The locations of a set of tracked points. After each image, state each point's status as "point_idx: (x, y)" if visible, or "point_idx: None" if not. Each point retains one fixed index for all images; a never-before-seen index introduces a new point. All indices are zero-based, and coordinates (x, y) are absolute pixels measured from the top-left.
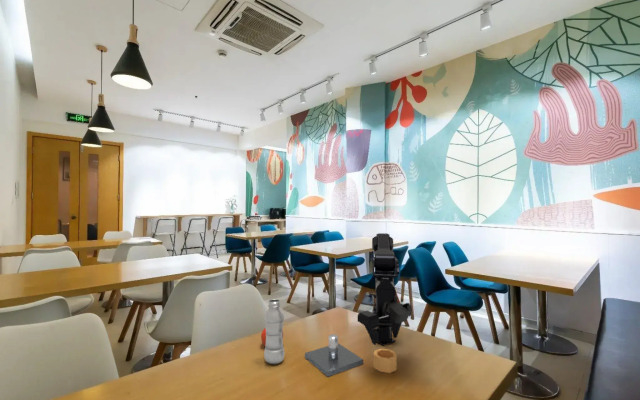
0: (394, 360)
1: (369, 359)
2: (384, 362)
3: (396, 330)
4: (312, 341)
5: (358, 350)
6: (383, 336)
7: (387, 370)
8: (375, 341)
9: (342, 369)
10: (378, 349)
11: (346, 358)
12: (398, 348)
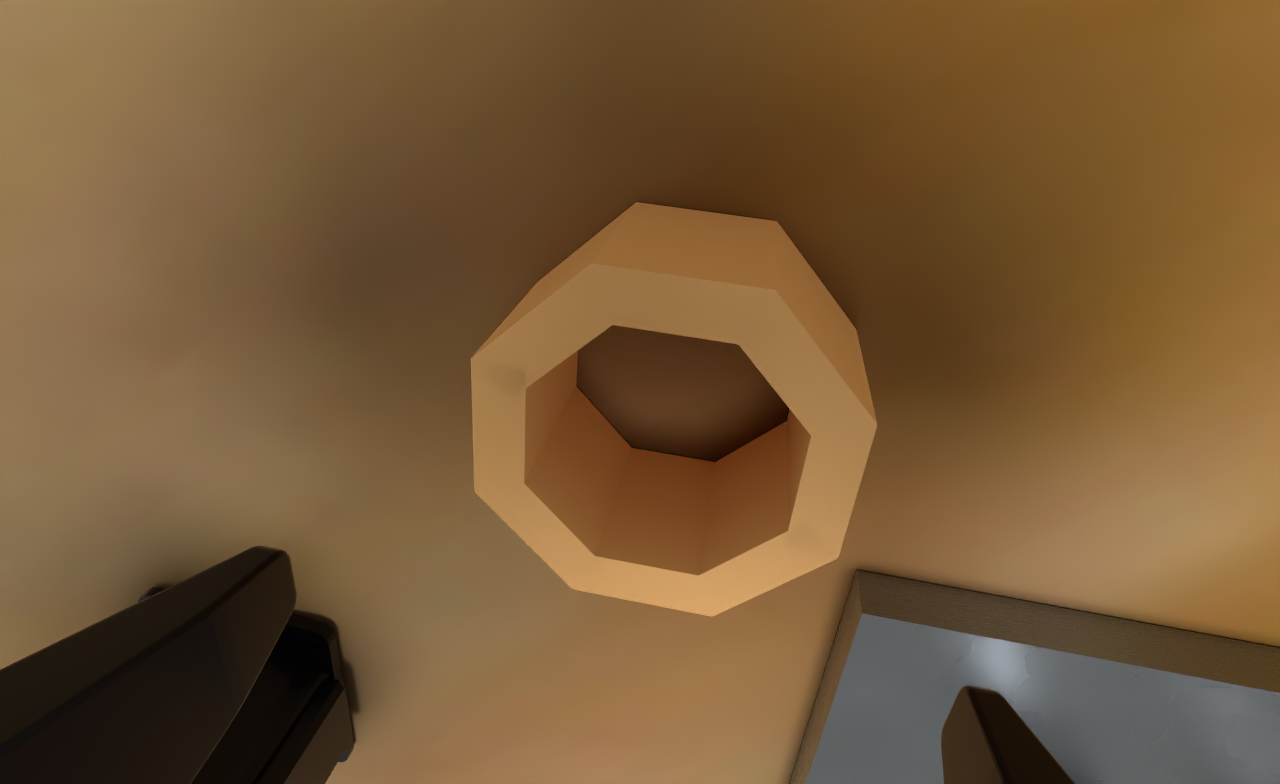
0: (654, 257)
1: None
2: (829, 344)
3: (125, 694)
4: None
5: (641, 733)
6: (250, 711)
7: (798, 261)
8: (1043, 767)
9: (1222, 656)
10: (626, 596)
11: None
12: (213, 491)
